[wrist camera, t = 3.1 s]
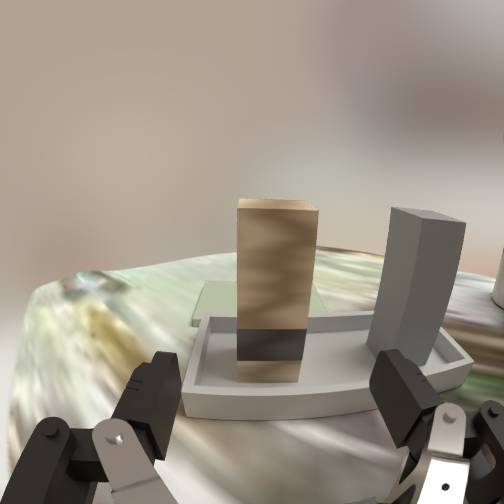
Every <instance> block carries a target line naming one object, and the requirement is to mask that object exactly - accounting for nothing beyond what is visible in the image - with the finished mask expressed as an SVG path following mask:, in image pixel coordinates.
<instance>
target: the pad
mask: <svg viewBox="0 0 504 504" xmlns="http://www.w3.org/2000/svg"><path fill="white" fill-rule="evenodd" d="M203 312H210V313H237V282H227V281H206V282H205V285H204V288H203V291H202V293H201V296H200V299H199V302H198V305H197V308H196V310H195V313H194V316H193V326H195V327H199V325H200V322H201V318H202V315H203ZM309 313H328V312H327V310H326V308H325V306H324V304H323V302H322V300H321V298H320V296H319V294H318V292H317V290H316V288H315V286H314V284H313V282H312V289H311V298H310V306H309Z"/></svg>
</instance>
